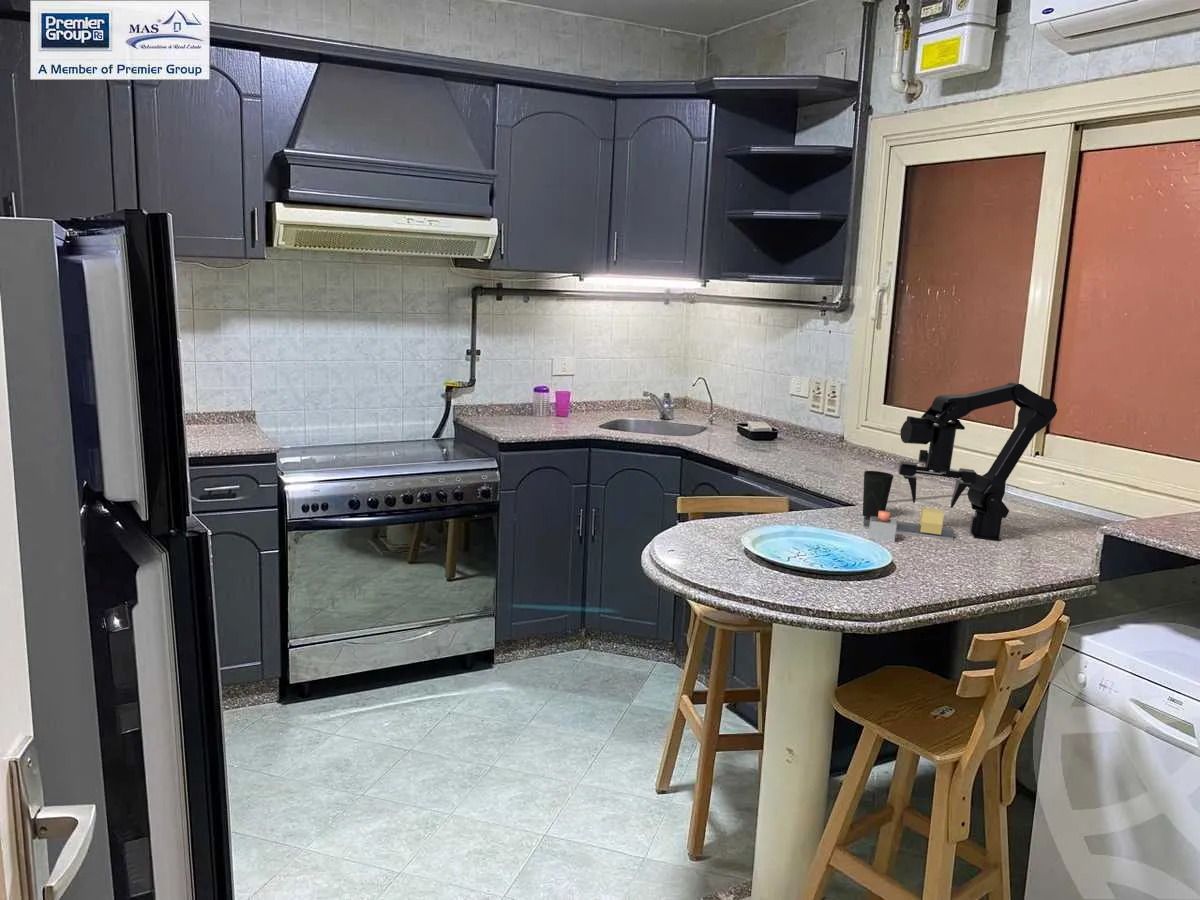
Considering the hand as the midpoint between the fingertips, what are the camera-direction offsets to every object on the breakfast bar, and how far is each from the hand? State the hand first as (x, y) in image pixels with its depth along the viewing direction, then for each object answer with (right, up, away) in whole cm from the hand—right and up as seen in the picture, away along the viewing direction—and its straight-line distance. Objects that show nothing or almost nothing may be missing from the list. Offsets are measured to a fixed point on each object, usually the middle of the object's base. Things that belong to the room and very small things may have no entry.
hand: (932, 505), depth 240 cm
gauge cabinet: (-15, -8, -6) cm, 18 cm away
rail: (-6, -7, +3) cm, 9 cm away
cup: (-10, -4, +17) cm, 20 cm away
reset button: (-15, -3, -7) cm, 17 cm away
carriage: (0, -8, +1) cm, 8 cm away
